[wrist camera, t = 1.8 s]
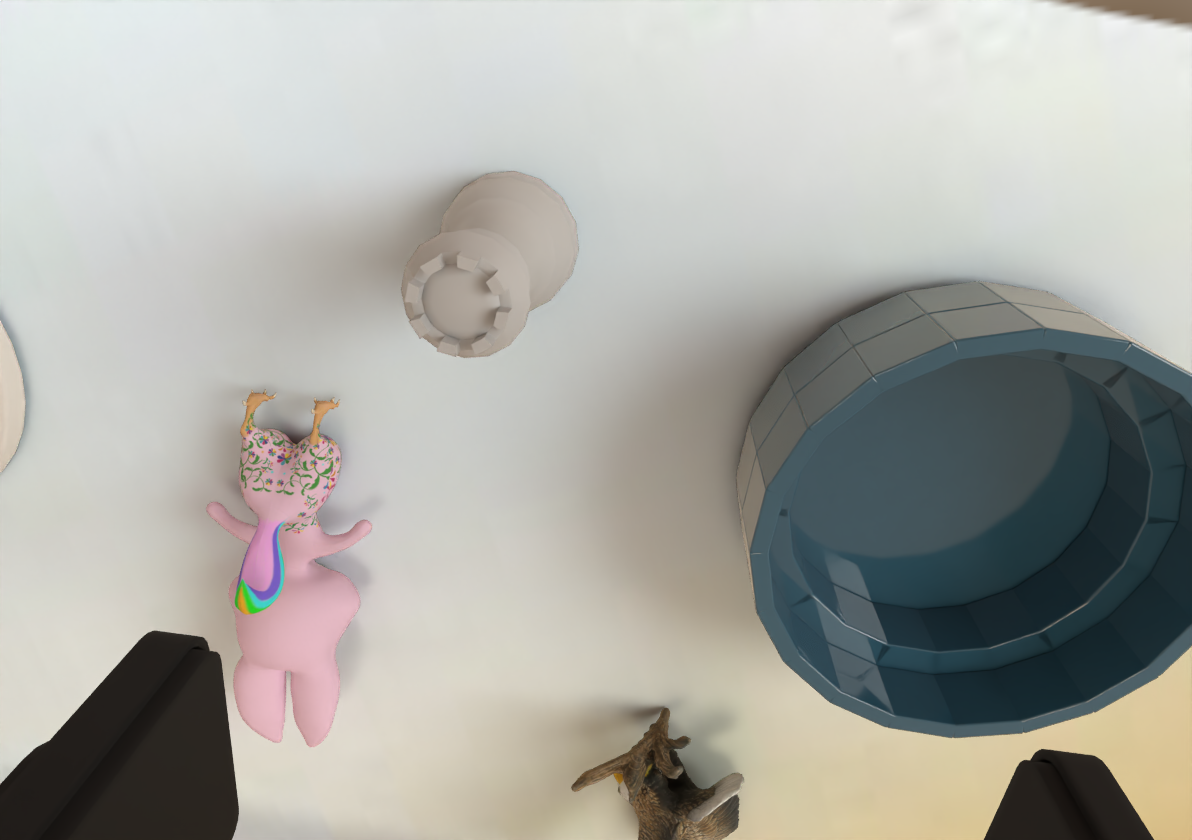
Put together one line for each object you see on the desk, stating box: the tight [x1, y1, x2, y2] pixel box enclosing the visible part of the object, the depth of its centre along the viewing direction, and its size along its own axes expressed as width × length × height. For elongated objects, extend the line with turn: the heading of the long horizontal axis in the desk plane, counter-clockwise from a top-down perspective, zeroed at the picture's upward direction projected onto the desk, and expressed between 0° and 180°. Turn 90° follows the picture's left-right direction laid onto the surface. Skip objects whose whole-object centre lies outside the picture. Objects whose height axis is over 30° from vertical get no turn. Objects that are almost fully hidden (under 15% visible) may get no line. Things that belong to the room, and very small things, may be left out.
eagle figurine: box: [571, 708, 744, 840], centre depth 33 cm, size 8×7×9 cm
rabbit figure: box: [206, 389, 372, 747], centre depth 29 cm, size 6×6×15 cm
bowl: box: [736, 281, 1192, 738], centre depth 26 cm, size 14×14×6 cm
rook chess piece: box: [401, 171, 579, 358], centre depth 23 cm, size 4×4×8 cm
